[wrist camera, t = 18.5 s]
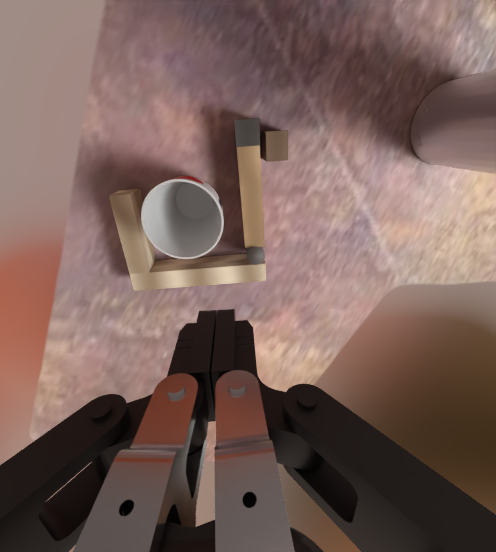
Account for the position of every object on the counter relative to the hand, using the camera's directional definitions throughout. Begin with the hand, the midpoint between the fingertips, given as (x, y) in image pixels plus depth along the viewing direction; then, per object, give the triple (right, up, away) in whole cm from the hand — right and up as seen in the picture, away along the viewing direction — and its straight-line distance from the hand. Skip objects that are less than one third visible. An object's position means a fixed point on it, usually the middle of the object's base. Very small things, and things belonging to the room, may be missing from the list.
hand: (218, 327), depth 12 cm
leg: (+2, +13, +25) cm, 28 cm away
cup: (-6, +12, +25) cm, 29 cm away
